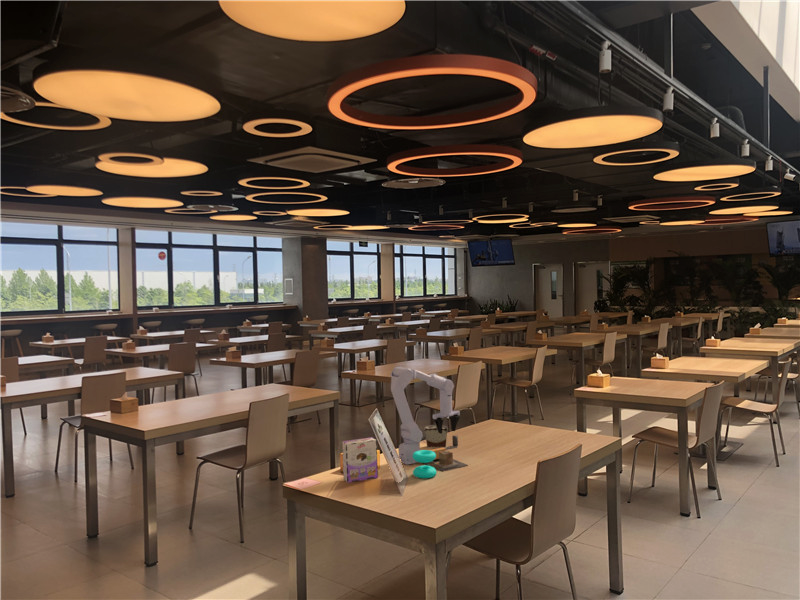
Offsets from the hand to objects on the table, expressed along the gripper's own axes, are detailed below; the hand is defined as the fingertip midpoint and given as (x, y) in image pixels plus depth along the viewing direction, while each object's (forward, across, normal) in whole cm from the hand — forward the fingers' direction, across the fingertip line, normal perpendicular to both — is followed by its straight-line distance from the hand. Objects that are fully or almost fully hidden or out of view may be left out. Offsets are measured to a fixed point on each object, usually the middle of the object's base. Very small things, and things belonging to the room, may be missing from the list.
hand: (446, 431), depth 283 cm
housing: (+10, -11, -15) cm, 21 cm away
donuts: (+11, -27, -22) cm, 36 cm away
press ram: (+9, -7, -6) cm, 13 cm away
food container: (+11, +4, +15) cm, 19 cm away
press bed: (+10, -11, -12) cm, 20 cm away
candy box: (+11, -51, -9) cm, 53 cm away
